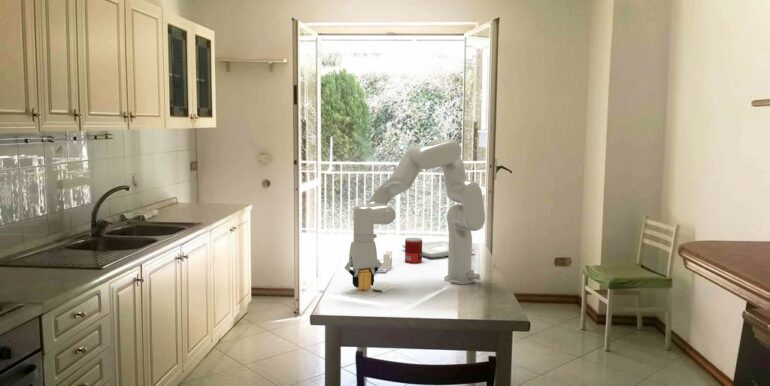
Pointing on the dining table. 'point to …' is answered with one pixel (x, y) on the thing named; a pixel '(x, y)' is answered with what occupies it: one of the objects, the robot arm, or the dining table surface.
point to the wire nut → (364, 279)
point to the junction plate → (374, 289)
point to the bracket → (386, 261)
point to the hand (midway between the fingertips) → (363, 285)
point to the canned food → (413, 250)
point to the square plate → (432, 253)
